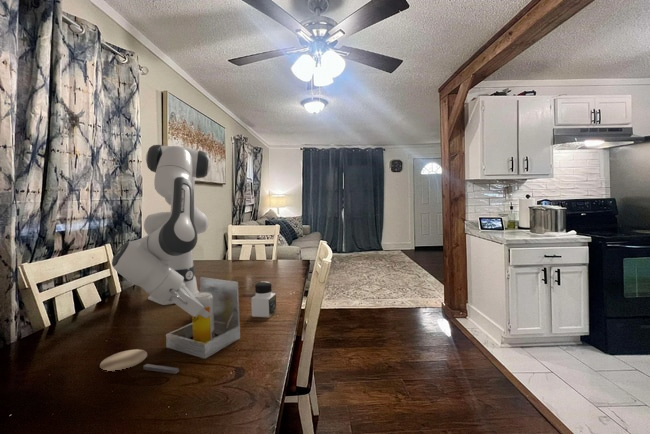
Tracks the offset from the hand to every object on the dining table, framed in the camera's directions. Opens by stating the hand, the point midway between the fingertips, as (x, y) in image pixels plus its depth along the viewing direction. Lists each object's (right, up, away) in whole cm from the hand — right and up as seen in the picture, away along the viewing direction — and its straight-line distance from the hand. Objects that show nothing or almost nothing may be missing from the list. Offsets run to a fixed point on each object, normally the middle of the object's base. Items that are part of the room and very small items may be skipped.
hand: (204, 311), depth 96 cm
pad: (-19, -10, -10) cm, 23 cm away
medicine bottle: (+14, -8, +23) cm, 28 cm away
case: (0, -9, 0) cm, 9 cm away
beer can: (0, -10, 0) cm, 10 cm away
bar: (-6, -11, -15) cm, 19 cm away
